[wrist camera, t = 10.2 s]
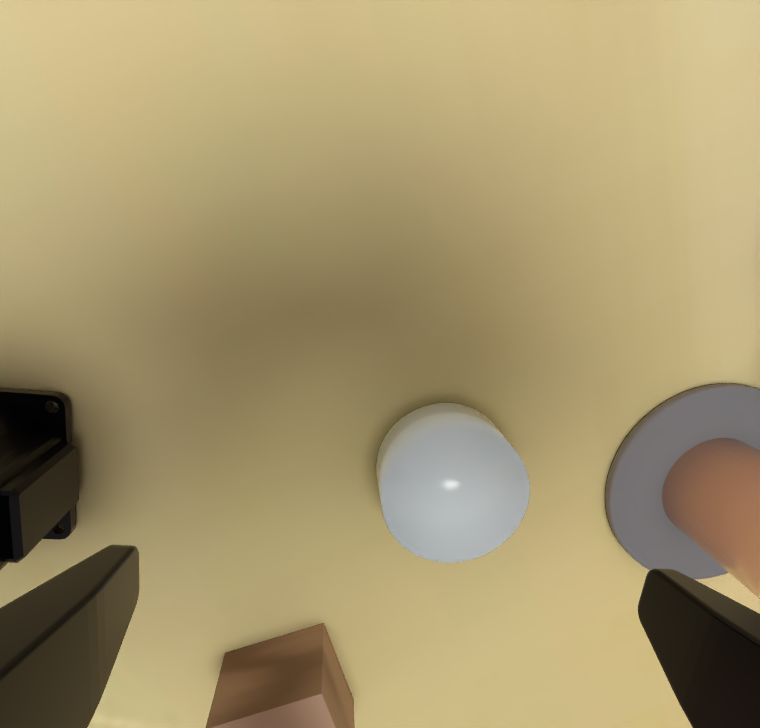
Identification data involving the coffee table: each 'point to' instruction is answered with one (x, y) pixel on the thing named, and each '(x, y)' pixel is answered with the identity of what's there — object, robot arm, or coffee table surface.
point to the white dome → (450, 483)
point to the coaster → (655, 459)
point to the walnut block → (283, 685)
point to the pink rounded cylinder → (719, 504)
